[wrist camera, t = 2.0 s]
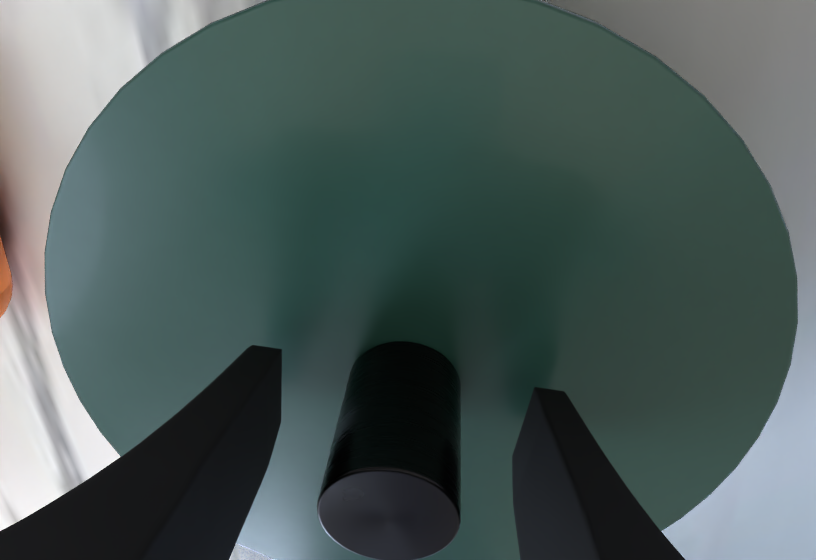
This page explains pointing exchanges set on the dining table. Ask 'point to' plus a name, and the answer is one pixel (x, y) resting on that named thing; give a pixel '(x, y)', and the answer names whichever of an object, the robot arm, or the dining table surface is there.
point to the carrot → (4, 281)
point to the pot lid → (424, 263)
